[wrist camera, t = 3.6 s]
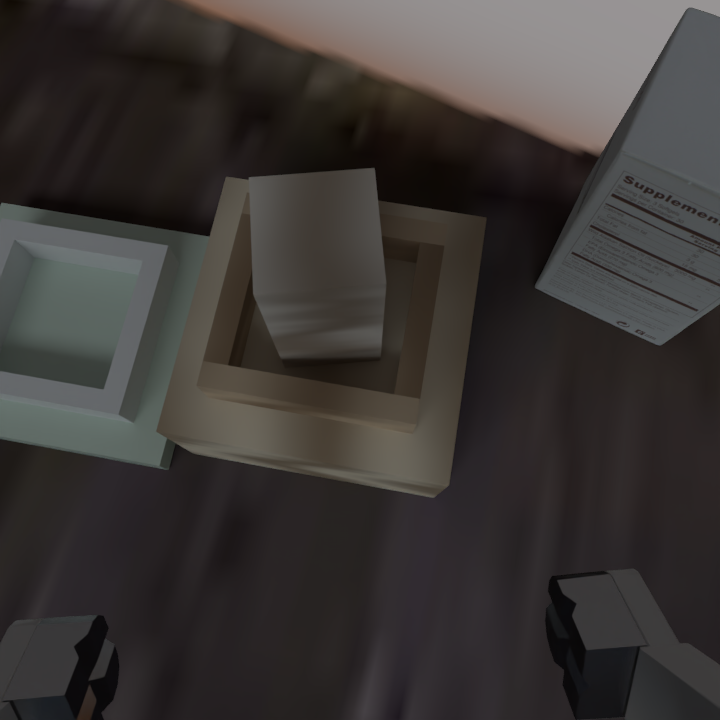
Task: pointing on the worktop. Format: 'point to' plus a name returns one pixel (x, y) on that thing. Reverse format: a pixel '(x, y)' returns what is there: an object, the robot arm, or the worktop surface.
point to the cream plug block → (319, 265)
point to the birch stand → (334, 381)
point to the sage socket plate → (91, 331)
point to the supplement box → (652, 200)
